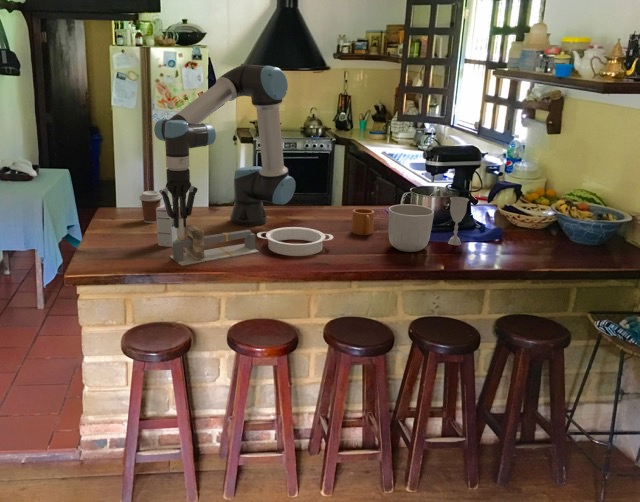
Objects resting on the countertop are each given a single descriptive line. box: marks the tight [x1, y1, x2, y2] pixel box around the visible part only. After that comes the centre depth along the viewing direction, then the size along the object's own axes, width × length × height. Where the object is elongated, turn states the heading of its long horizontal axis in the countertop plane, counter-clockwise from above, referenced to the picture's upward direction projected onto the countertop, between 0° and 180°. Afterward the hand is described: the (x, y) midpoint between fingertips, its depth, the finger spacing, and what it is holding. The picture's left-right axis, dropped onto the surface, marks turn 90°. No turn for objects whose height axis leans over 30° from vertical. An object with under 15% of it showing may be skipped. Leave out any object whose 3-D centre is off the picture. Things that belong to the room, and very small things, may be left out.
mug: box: [351, 208, 375, 236], centre depth 261 cm, size 9×12×9 cm
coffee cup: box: [139, 190, 163, 224], centre depth 265 cm, size 9×9×12 cm
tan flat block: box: [183, 224, 205, 260], centre depth 224 cm, size 3×10×10 cm, turn 35°
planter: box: [387, 203, 435, 253], centre depth 243 cm, size 17×17×15 cm
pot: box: [256, 226, 334, 257], centre depth 241 cm, size 29×22×5 cm
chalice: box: [447, 196, 470, 246], centre depth 251 cm, size 7×7×18 cm
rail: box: [169, 229, 260, 267], centre depth 229 cm, size 30×10×7 cm, turn 125°
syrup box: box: [156, 204, 179, 248], centre depth 237 cm, size 6×6×14 cm
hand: (180, 236), depth 220 cm, fingers closed
